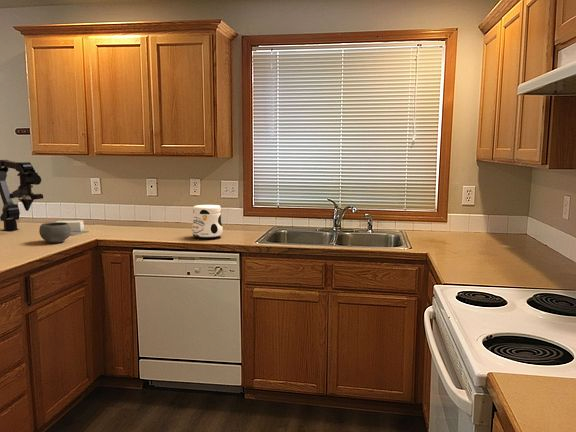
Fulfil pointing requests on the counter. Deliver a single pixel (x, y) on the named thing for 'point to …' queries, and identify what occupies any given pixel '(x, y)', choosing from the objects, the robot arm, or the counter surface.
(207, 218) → the milk container
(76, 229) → the skincare box
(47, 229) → the bowl
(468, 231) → the counter surface
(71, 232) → the mat
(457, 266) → the counter surface
